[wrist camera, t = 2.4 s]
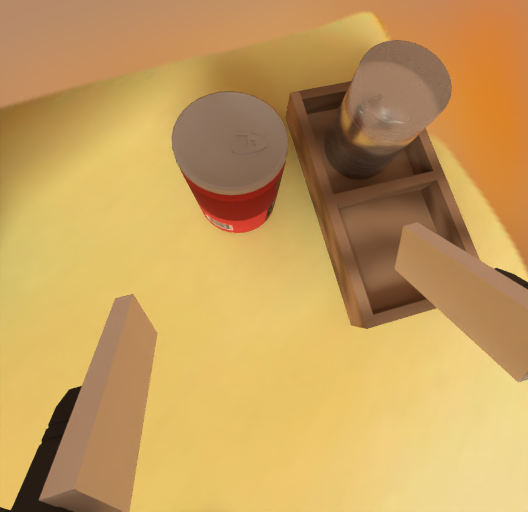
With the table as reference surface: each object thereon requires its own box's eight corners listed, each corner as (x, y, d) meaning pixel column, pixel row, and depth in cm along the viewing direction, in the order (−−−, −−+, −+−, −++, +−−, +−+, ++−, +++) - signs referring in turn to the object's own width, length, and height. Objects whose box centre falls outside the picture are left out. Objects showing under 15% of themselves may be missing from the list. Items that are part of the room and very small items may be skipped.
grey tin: (311, 154, 28) (339, 87, 19) (346, 107, 30) (387, 24, 21) (368, 192, 28) (424, 141, 19) (401, 142, 29) (467, 73, 20)
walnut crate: (462, 292, 27) (492, 291, 24) (351, 325, 26) (366, 328, 23) (385, 97, 31) (402, 71, 28) (285, 116, 30) (290, 92, 27)
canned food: (282, 224, 28) (303, 175, 17) (210, 243, 27) (184, 204, 16) (263, 162, 29) (271, 79, 18) (194, 179, 28) (159, 101, 17)
